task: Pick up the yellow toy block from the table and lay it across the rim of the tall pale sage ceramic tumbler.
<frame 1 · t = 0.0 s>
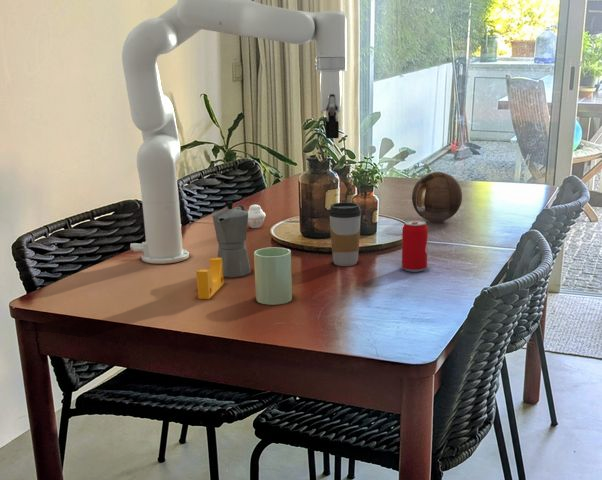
hand: (332, 135, 219), 31 cm above the table, tool pointing down, fingers open, 9 cm apart
coffee cup: (345, 263, 223), on the table
coffeepot: (235, 272, 218), on the table
white rounded piece: (255, 227, 263), on the table
wooden sphere: (436, 221, 264), on the table
beverage can: (414, 270, 216), on the table
yellow toy block: (207, 291, 203), on the table
tumbler: (274, 299, 196), on the table
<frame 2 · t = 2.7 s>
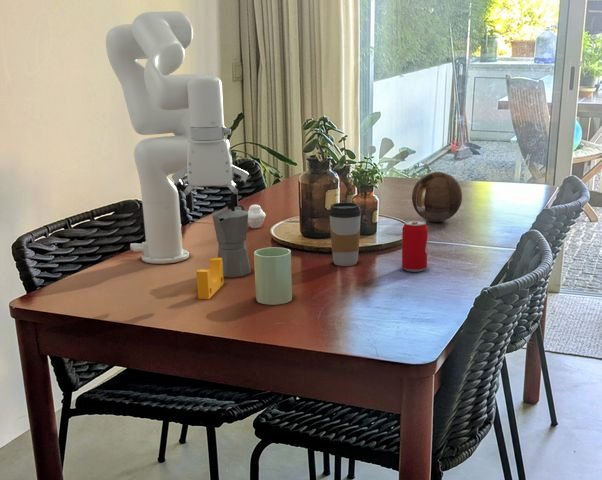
hand: (212, 210, 198), 19 cm above the table, tool pointing down, fingers open, 9 cm apart
nothing on the table moved.
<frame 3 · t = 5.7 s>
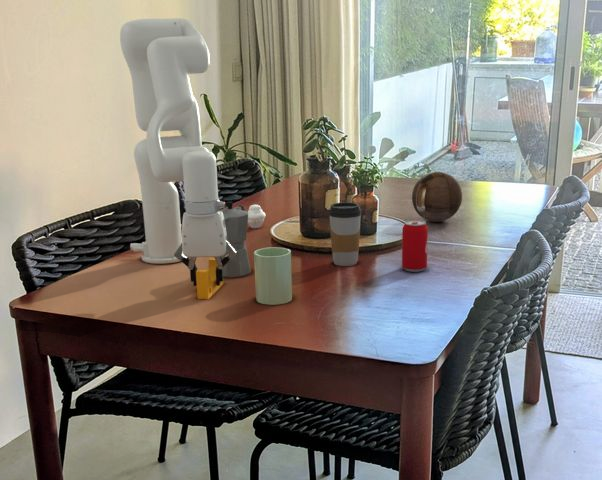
hand: (207, 283, 202), 2 cm above the table, tool pointing down, fingers closed on yellow toy block, 4 cm apart
yellow toy block: (207, 291, 203), on the table, touching gripper
everything else where it was.
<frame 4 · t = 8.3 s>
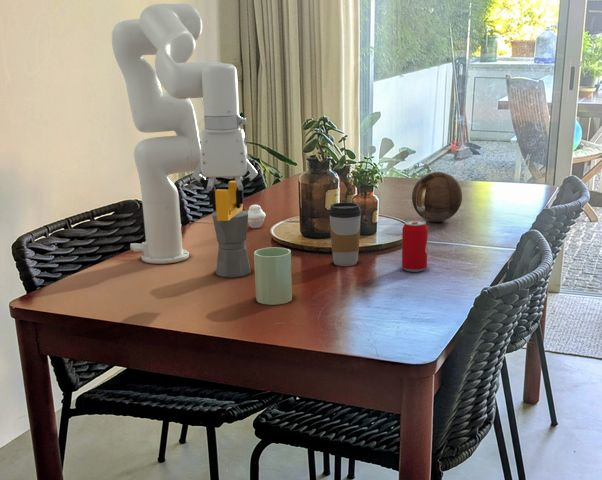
hand: (226, 206, 193), 20 cm above the table, tool pointing down, fingers closed on yellow toy block, 4 cm apart
yellow toy block: (226, 215, 194), point 18 cm above the table, touching gripper
everything else where it was.
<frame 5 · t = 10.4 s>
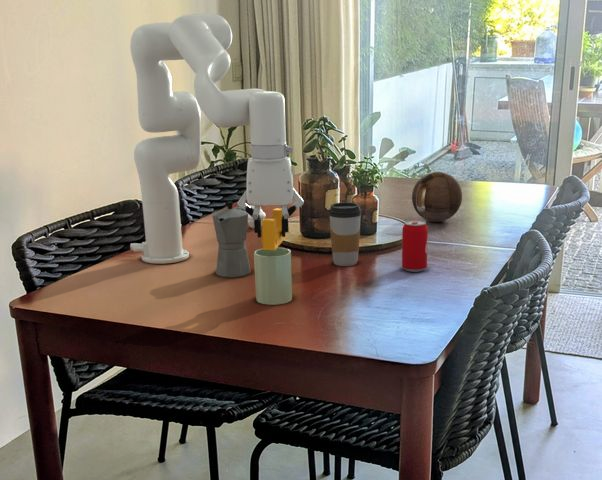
hand: (271, 235, 191), 15 cm above the table, tool pointing down, fingers closed on yellow toy block, 4 cm apart
yellow toy block: (271, 243, 191), point 13 cm above the table, touching gripper
everything else where it was.
when the fingers open (13 cm above the table, at t = 11.4 s): yellow toy block stays where it is, resting on tumbler.
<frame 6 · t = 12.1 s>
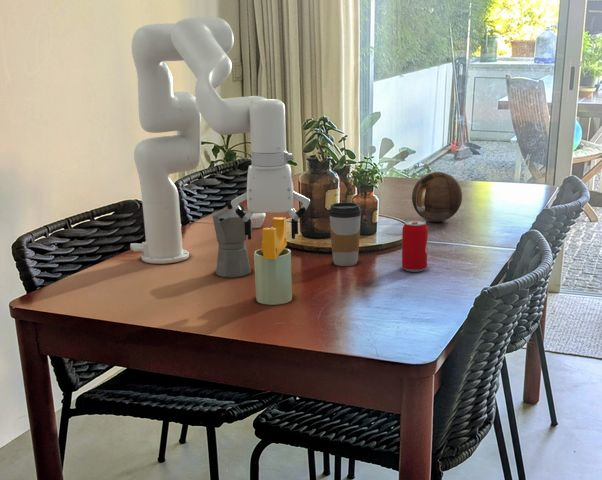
hand: (271, 237, 191), 14 cm above the table, tool pointing down, fingers open, 9 cm apart
yellow toy block: (271, 252, 192), point 11 cm above the table, touching tumbler
everything else where it was.
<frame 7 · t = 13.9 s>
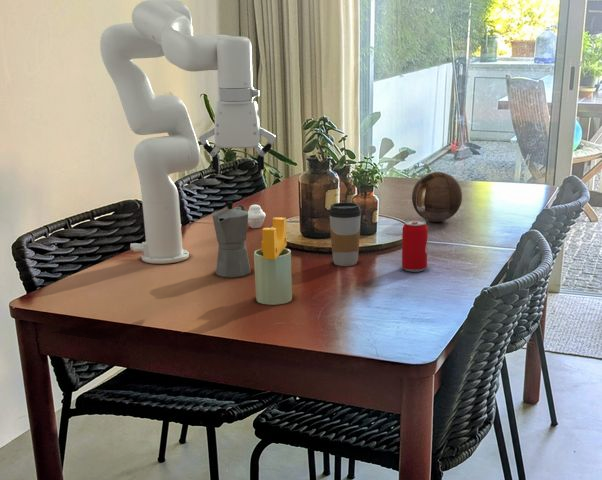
hand: (238, 173, 198), 27 cm above the table, tool pointing down, fingers open, 9 cm apart
nothing on the table moved.
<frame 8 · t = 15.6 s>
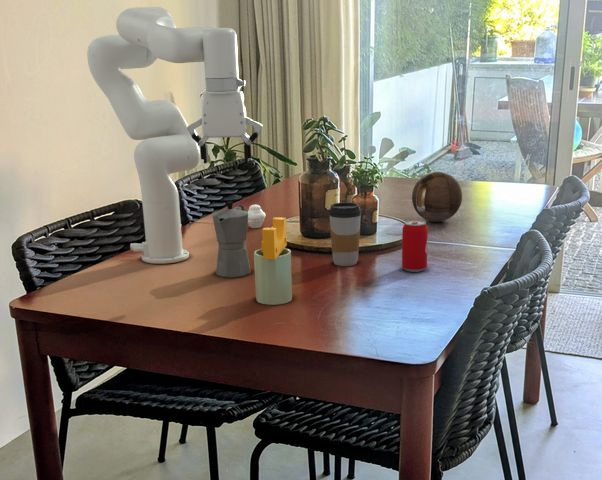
hand: (226, 162, 202), 28 cm above the table, tool pointing down, fingers open, 9 cm apart
nothing on the table moved.
at the end: yellow toy block 0.2 cm off-centre on the tumbler, point 10.8 cm above the tumbler's base; yellow toy block touching tumbler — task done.
